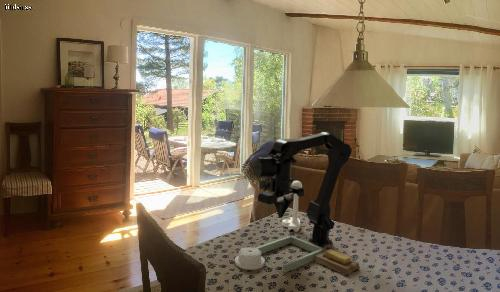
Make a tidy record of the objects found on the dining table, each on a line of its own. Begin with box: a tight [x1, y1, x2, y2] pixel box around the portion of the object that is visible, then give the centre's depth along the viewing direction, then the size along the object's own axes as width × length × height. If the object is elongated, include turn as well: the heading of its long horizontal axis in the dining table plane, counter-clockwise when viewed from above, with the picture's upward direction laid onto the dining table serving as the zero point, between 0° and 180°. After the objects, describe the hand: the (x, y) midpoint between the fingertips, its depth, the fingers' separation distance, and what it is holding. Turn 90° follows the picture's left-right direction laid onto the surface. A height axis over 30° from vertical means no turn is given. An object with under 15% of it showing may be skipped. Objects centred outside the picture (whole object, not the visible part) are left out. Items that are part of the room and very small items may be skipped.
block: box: [325, 249, 352, 266], centre depth 134 cm, size 8×3×4 cm, turn 42°
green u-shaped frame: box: [255, 235, 326, 274], centre depth 139 cm, size 20×16×2 cm
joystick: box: [281, 180, 303, 233], centre depth 167 cm, size 11×8×20 cm
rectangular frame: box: [314, 251, 360, 276], centre depth 134 cm, size 7×12×2 cm, turn 42°
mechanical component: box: [234, 246, 266, 271], centre depth 133 cm, size 10×4×10 cm
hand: (280, 217), depth 143 cm, fingers closed
